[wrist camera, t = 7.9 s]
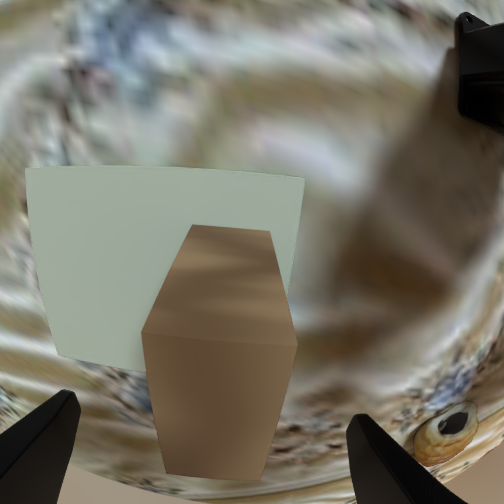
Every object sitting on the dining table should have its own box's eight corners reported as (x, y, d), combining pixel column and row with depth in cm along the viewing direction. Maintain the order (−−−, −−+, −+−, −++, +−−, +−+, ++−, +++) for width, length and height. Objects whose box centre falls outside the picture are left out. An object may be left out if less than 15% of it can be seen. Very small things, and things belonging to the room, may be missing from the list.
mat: (303, 177, 14) (305, 179, 13) (270, 379, 18) (271, 383, 18) (29, 167, 13) (25, 168, 12) (60, 351, 17) (58, 355, 17)
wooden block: (274, 231, 14) (306, 345, 7) (257, 352, 17) (265, 480, 9) (192, 224, 14) (140, 331, 6) (190, 347, 17) (166, 473, 9)
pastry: (457, 439, 25) (469, 462, 21) (405, 462, 25) (415, 488, 22) (474, 391, 21) (491, 419, 18) (412, 420, 22) (427, 452, 18)
